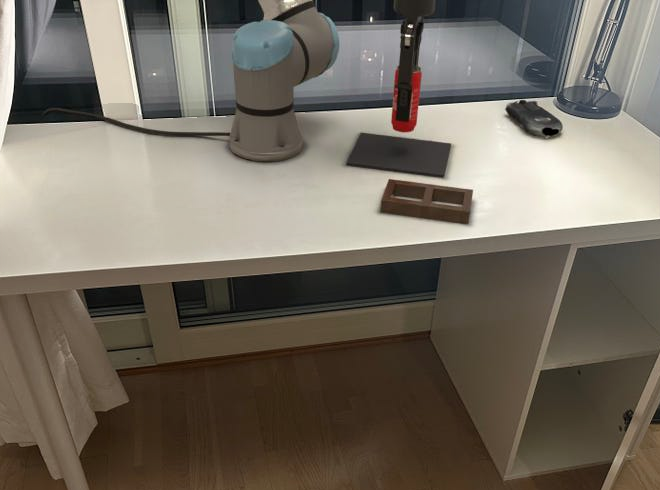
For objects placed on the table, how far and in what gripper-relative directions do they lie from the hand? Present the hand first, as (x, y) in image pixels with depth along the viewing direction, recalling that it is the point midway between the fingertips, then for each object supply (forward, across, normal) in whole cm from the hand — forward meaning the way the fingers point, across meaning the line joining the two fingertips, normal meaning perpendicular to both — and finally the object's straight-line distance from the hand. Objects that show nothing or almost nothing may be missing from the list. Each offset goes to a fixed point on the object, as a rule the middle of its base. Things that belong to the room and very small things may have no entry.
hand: (404, 115), depth 142 cm
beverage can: (+3, 0, 0) cm, 3 cm away
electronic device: (+9, +25, -28) cm, 38 cm away
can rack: (+9, -21, -8) cm, 24 cm away
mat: (+9, 0, 0) cm, 9 cm away
